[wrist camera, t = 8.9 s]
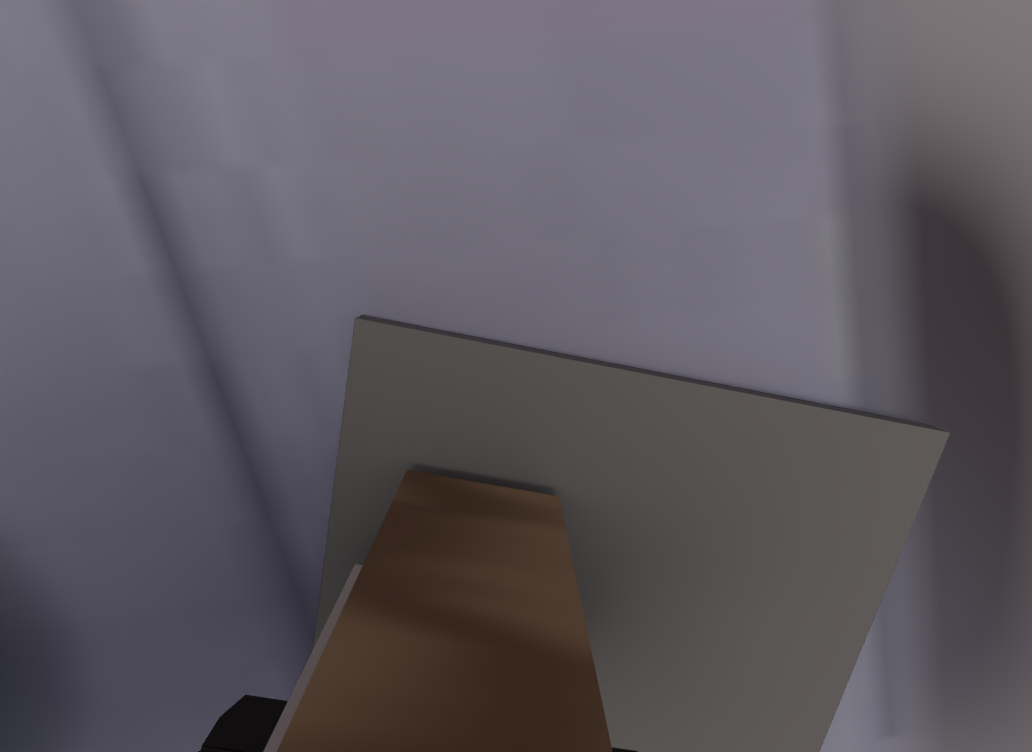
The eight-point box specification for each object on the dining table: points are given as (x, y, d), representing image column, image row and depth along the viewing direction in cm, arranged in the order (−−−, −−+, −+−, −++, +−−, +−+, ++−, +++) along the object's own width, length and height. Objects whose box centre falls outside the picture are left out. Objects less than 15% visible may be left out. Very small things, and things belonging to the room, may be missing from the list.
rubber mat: (306, 741, 17) (299, 759, 16) (361, 315, 14) (355, 318, 13) (778, 809, 18) (787, 828, 17) (932, 425, 15) (950, 432, 14)
